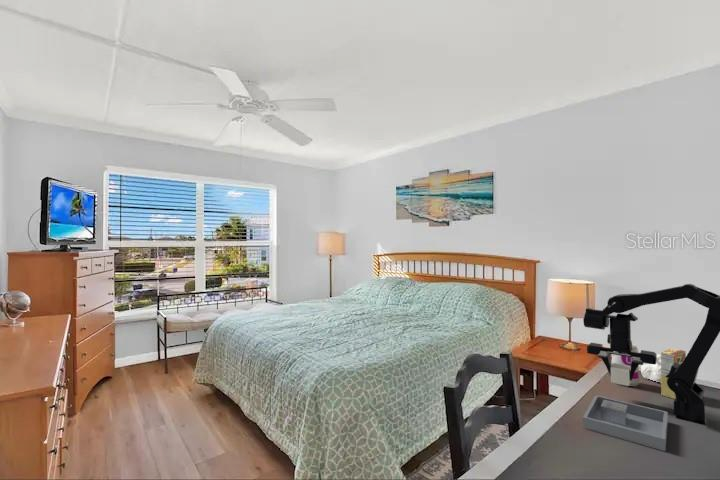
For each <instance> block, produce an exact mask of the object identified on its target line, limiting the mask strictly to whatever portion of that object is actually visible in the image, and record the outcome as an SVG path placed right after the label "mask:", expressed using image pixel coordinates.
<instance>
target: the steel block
mask: <svg viewBox="0 0 720 480" xmlns="http://www.w3.org/2000/svg"><path fill="white" fill-rule="evenodd" d="M601 420H605V421H608V422H612V423H616V424H620V425H623V426H626V423H627V420H628V405H625V404H620V403H616V402H612V401H608V400H603V402H602V404H601Z"/></svg>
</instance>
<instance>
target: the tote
mask: <svg viewBox="0 0 720 480" xmlns="http://www.w3.org/2000/svg"><path fill="white" fill-rule="evenodd" d="M603 400H608V401H612V402H616V403H620V404H625V405H628V420H627V423H626V426H623V425H620V424H616V423H612V422H608V421H605V420H601V404H602V402H603ZM668 418H669V417H668V411H666V410H662V409H657V408H652V407H648V406H644V405H640V404H639V405H638V404H636V403H631V402H626V401H623V400H622V401H621V400H619V399H613V398H610V397H609V398H608V397H605V396H601V395H594V397H593V399H592V400H591V402H590V404H589V406H588V408H587V409H586V411H585V413H583V416H582V428H583V429H586V430H590V431H593V432H597V433H600V434H603V435H607V436H610V437H614V438H618V439H621V440H624V441H627V442H628V441H629V442H631V443H635V444H638V445H641V446H644V447H648V448H652V449H656V450H658V451H662V452H666V450H667V439H668V438H667V436H668V426H669V425H668V423H669V419H668Z"/></svg>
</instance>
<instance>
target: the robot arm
mask: <svg viewBox="0 0 720 480" xmlns="http://www.w3.org/2000/svg"><path fill="white" fill-rule="evenodd" d="M682 299H688V300H691V301H693V302H695V303H697V304H698V305H701V306H703V307H705V308H706V309H708V310H707V315H706V318H705V323H704V325H703V327H702V329H701V330H700V332H699V334H698V336H697V337H696V338H695V341H694V342H693V343H692V345H691V348H690V350H689V351H688V353H687V354H686V358H685V360H684V361H683V362H682V363H681V364H680V365H679V364H678V363H676V362H674V364H673V365H672V366H671V370H670V371H669V373H668V374H667V375H666V376H665V377H666V378H668V379H667V385H668V387H669V388H670V389H671V390H672V391H673V392H674V393H675V395H676V399H673V415H674V416H675V419H678V420H681V421H686V422H689V423H690V422H691V423H695V424H699V425H703V426H705V427H706V426H707V423H706V412H705V411H706V409H705V406H706V405H705V399H703V397H704V394H705V392H706V391H705V390H704V389H703V388H702V387H701V386H700V385H699V384H698V383H697V382H696V380H697V377H698V373H699V369H700V366H701V365H702V363H703V361H704V360H705V358H706V356H707V355H708V353H709V351H710V350H711V347H712V346H713V344H714V342H715V341H716V340H717V337H718V336H719V334H720V294H717V293H715V292H712V291H709V290H706V289H704V288H701V287H698V286H696V285H694V284H691V283H686V284H683V285H679V286H674V287H669V288H665V289H660V290H659V289H658V290H653V291H648V292H643V293H625V294H622V293H621V294H616V295H613V296H611V297H609V298H608V300H607V306H605V307H604V308H603V309H602V310H601V309H594V308H590V307H588V308H585V313H584V316H583V320H582V321H583V326H584V327H585V328H587V329H589V328H590V329H595V330H596V329H597V330H603V331H604V330H605V329H606V328H609V334H608V333H607V339H606V340H607V344H609V347H605V346H603V344H602V343H597V342H596V343H595V342H590V343H589V344H588V345H587V346H586V353H587V354H588V355H589V354H590V355H595V356H597V358H599V359H601V361H602V362H603V364H604V365H605V367H606V370H607V372H608V374H609V377H611V366H612V354H614V355H620V356H626V357H633V360H632V362H631V370H630V381H632V378H633V375H634V373H635V370H636V369H637V367H639V366H642V365H644V364H656V361H657V355H658V354H657V353H656V352H655V351H650V350H643V349H641V350H640V352H639V351H638V352H631V350H632V343H633V341H632V336H631V334H632V333H631V331H632V330H631V322H636V321H638V320H639V318H638V317H637V316H636V315H634V314H633V312H630V313H628V314H624V313H625V312H628V311H632V310H634V309H637V308H639V307H642V306H643V307H644V306H647V305H653V304H661V303H664V302H670V301H676V300H682ZM612 314H616V315H612ZM613 351H615V352H613ZM625 353H626V354H625Z"/></svg>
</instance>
